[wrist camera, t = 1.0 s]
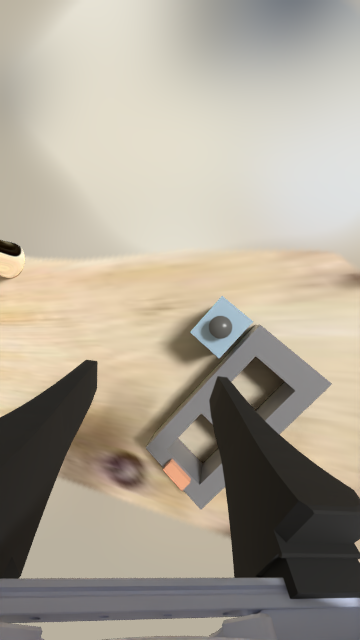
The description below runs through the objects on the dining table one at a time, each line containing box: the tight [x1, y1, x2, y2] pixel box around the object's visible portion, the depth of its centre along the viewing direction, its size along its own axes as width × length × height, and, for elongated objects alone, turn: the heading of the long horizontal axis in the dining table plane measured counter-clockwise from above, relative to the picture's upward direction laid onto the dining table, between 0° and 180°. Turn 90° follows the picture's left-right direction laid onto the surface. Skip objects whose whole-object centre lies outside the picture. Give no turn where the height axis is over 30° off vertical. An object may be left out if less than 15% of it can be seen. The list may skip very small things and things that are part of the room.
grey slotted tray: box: [146, 325, 331, 509], centre depth 23 cm, size 9×20×4 cm, turn 139°
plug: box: [190, 296, 253, 358], centre depth 22 cm, size 4×5×7 cm
